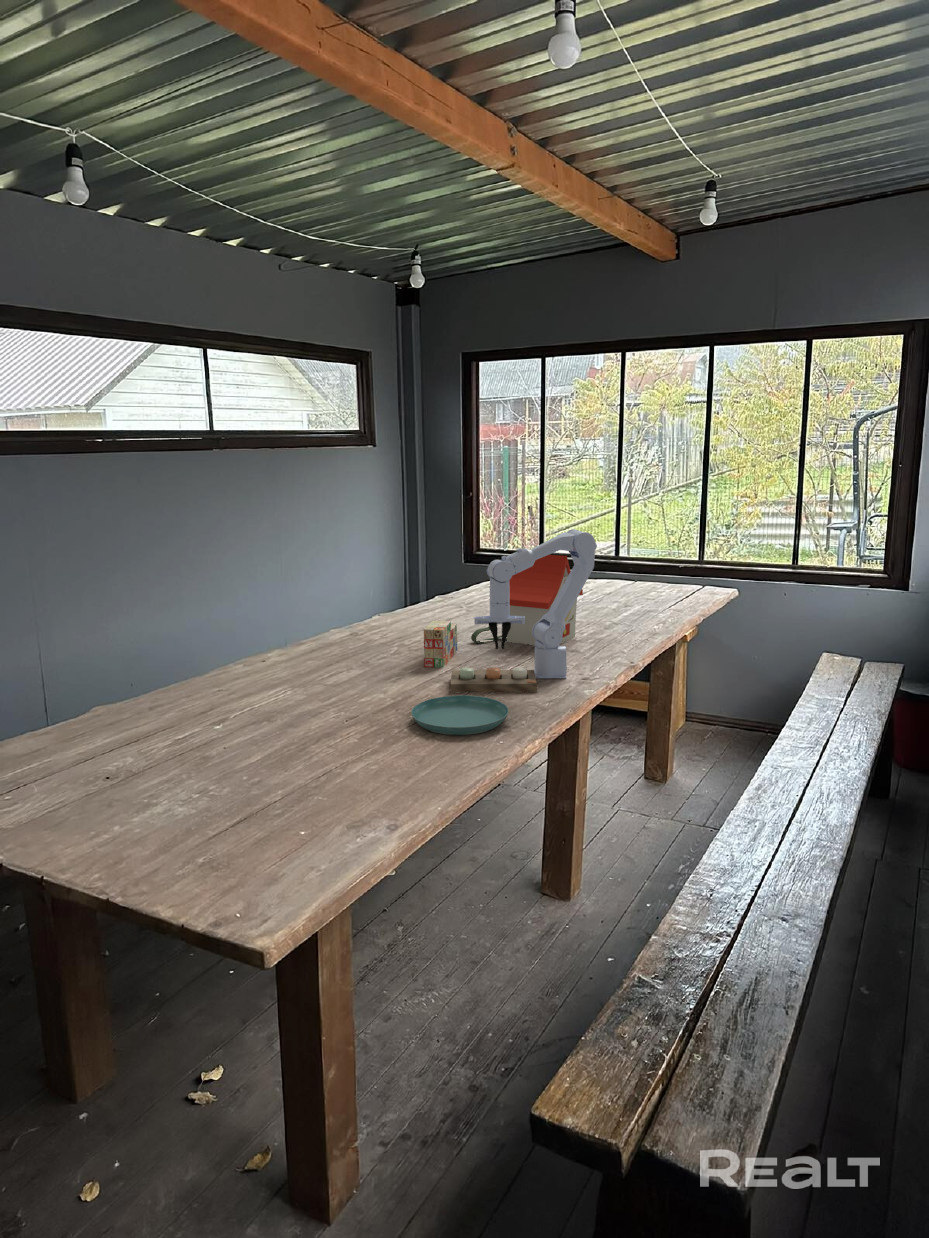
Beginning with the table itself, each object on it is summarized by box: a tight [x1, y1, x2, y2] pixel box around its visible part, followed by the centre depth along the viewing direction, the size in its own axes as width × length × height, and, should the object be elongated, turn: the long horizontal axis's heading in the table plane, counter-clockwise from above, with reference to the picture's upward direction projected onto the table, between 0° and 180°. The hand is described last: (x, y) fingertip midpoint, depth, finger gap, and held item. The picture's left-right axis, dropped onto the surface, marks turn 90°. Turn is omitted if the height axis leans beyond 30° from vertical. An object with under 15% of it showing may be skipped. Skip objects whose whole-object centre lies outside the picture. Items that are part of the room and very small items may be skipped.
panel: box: [450, 669, 538, 693], centre depth 240 cm, size 24×14×3 cm, turn 89°
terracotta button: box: [485, 667, 501, 679], centre depth 240 cm, size 4×4×3 cm
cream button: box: [512, 666, 528, 679], centre depth 239 cm, size 4×4×3 cm
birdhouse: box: [470, 554, 584, 646], centre depth 294 cm, size 36×30×30 cm
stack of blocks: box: [423, 620, 458, 668], centre depth 269 cm, size 21×6×12 cm, turn 169°
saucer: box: [410, 694, 509, 736], centre depth 210 cm, size 24×24×3 cm
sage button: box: [459, 667, 475, 679], centre depth 240 cm, size 4×4×3 cm
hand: (499, 648), depth 244 cm, fingers closed
